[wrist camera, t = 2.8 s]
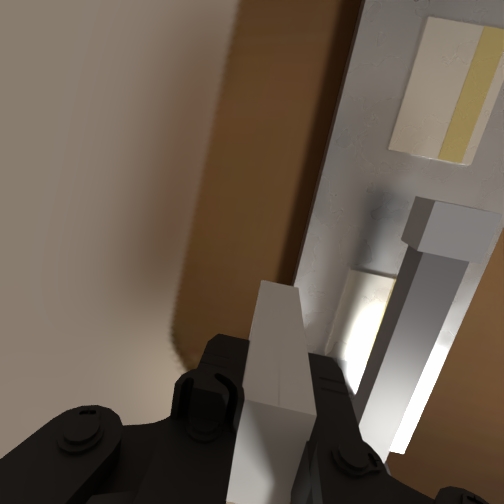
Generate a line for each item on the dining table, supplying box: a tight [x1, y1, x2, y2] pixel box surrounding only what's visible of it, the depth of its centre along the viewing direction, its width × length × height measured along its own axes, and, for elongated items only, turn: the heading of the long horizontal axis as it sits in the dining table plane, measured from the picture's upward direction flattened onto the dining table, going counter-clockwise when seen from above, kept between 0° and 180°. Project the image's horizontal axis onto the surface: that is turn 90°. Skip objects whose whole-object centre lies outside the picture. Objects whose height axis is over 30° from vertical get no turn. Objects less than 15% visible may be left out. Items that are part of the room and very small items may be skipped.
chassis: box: [291, 0, 504, 454], centre depth 20 cm, size 34×12×6 cm, turn 169°
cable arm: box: [352, 196, 503, 476], centre depth 18 cm, size 19×4×2 cm, turn 169°
